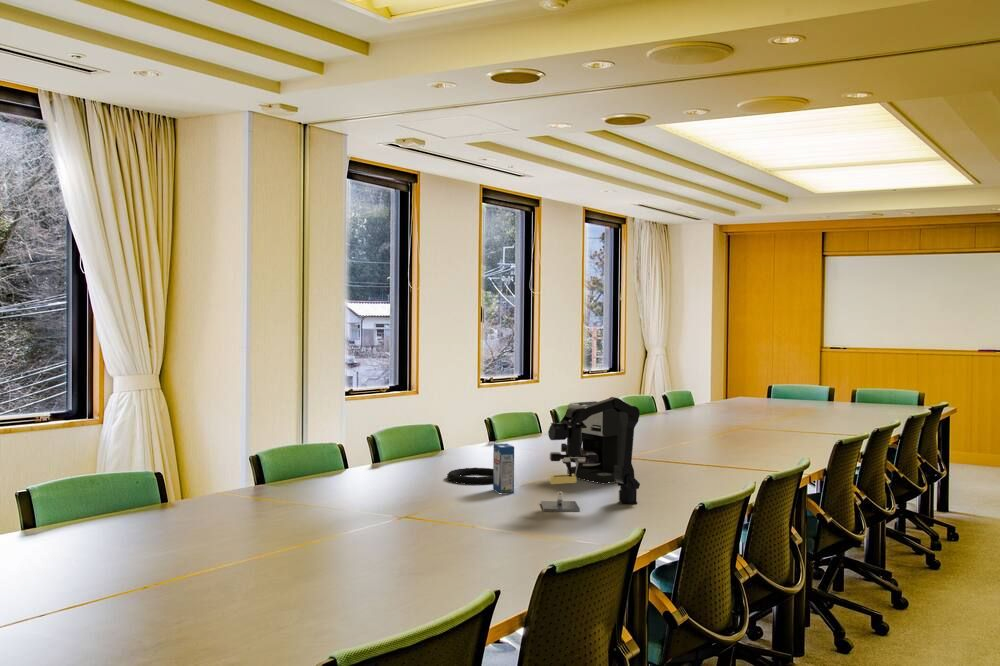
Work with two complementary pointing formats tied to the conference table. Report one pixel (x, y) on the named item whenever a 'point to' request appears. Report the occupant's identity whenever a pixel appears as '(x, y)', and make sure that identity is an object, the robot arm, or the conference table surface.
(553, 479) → the yellow rectangular frame
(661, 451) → the conference table surface
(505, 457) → the milk carton
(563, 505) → the keeper plate
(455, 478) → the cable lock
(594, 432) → the coffee maker
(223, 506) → the conference table surface
